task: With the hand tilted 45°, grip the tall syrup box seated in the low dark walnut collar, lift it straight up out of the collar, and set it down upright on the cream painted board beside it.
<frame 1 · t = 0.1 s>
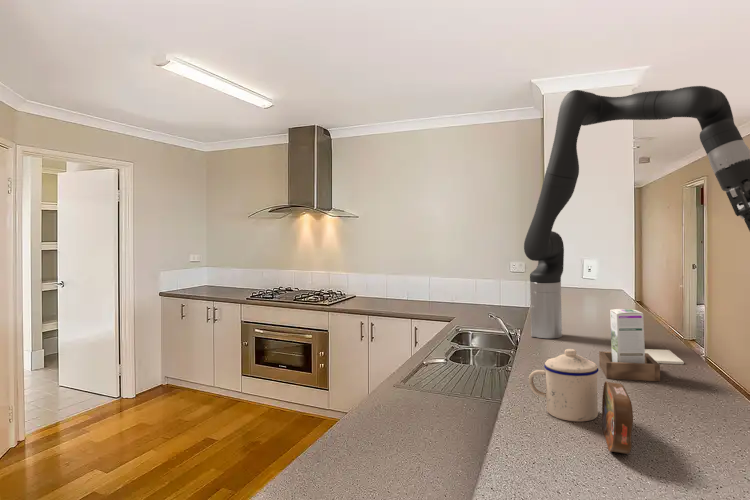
teacup with lid: (563, 413, 86), on the table
cream board: (649, 356, 121), on the table
syrup box: (627, 373, 108), resting in walnut collar
tin: (616, 442, 74), on the table
walnut collar: (627, 372, 108), on the table
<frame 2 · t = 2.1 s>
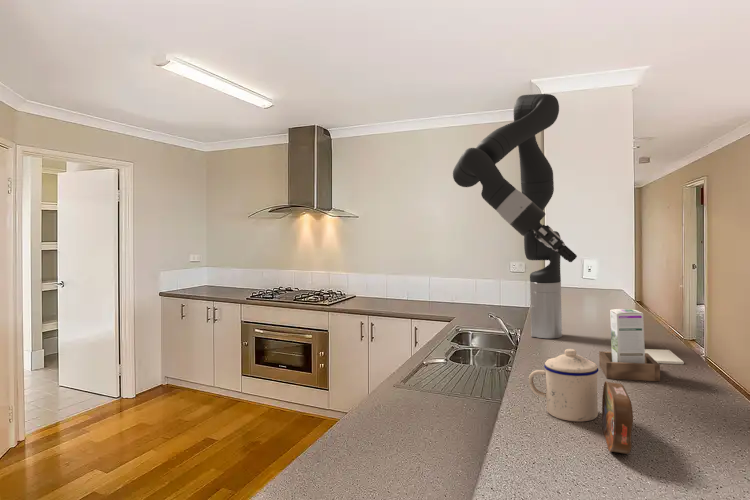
hand: (572, 258, 111), 27 cm above the table, tool tilted 45°, fingers open, 8 cm apart
nothing on the table moved.
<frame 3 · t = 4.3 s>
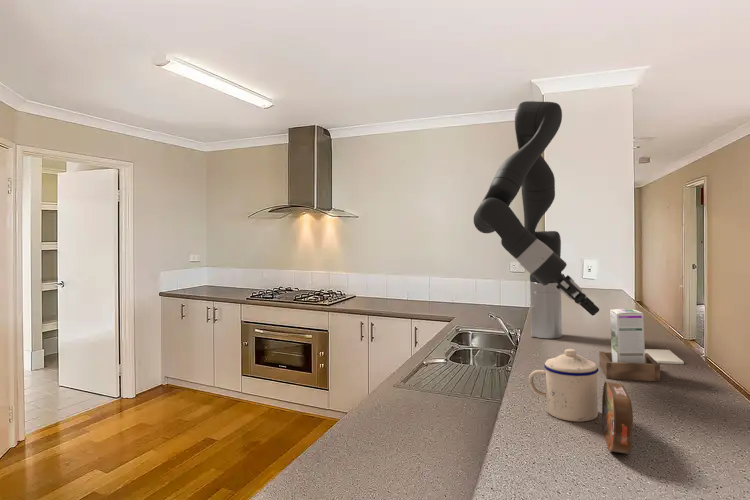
hand: (593, 309, 110), 15 cm above the table, tool tilted 45°, fingers open, 8 cm apart
nothing on the table moved.
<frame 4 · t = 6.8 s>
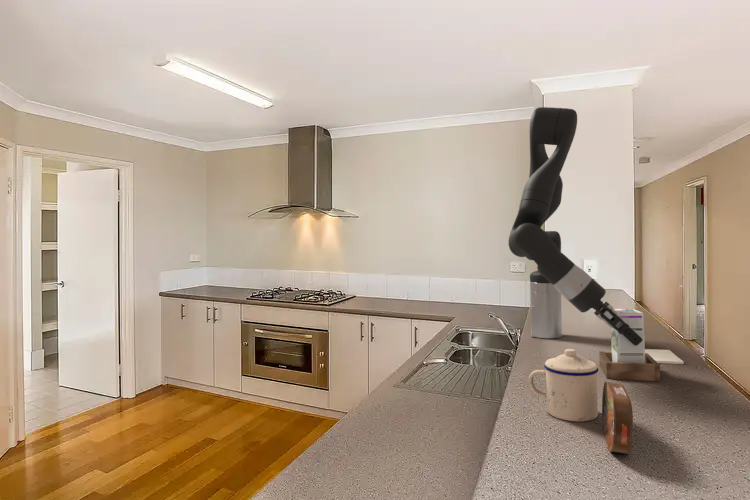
hand: (635, 339, 107), 8 cm above the table, tool tilted 45°, fingers closed on syrup box, 6 cm apart
syrup box: (627, 373, 108), resting in walnut collar, touching gripper
everything else where it was.
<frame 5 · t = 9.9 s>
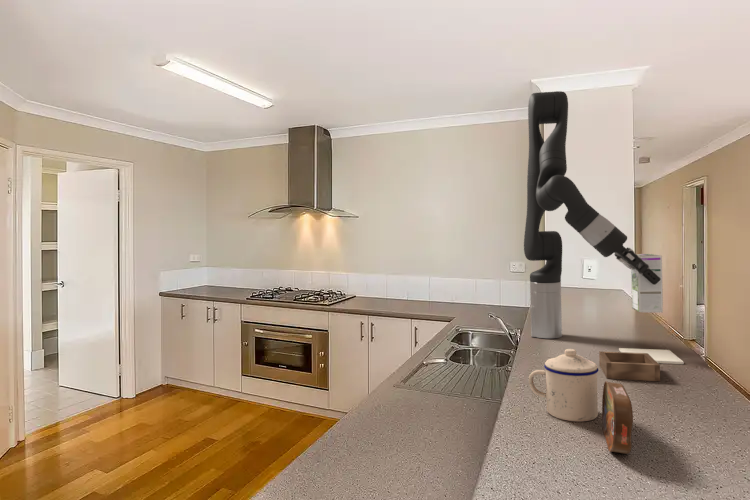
hand: (653, 280, 120), 20 cm above the table, tool tilted 45°, fingers closed on syrup box, 6 cm apart
syrup box: (646, 311, 120), point 12 cm above the table, touching gripper
everything else where it was.
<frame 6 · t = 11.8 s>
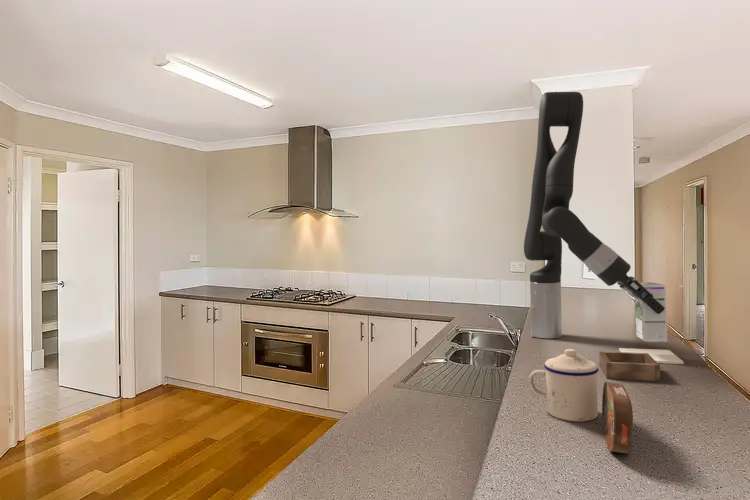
hand: (657, 309, 120), 12 cm above the table, tool tilted 45°, fingers closed on syrup box, 6 cm apart
syrup box: (651, 340, 120), point 4 cm above the table, touching gripper
everything else where it was.
when the fingers open (10 cm above the table, at t = 13.0 s): syrup box drops 1 cm, resting on cream board.
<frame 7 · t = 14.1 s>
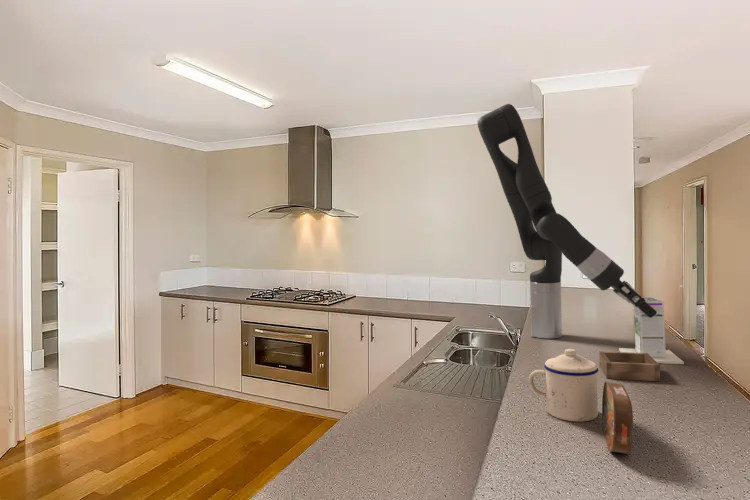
hand: (649, 312, 121), 11 cm above the table, tool tilted 45°, fingers open, 8 cm apart
syrup box: (649, 355, 120), resting on cream board
everything else where it was.
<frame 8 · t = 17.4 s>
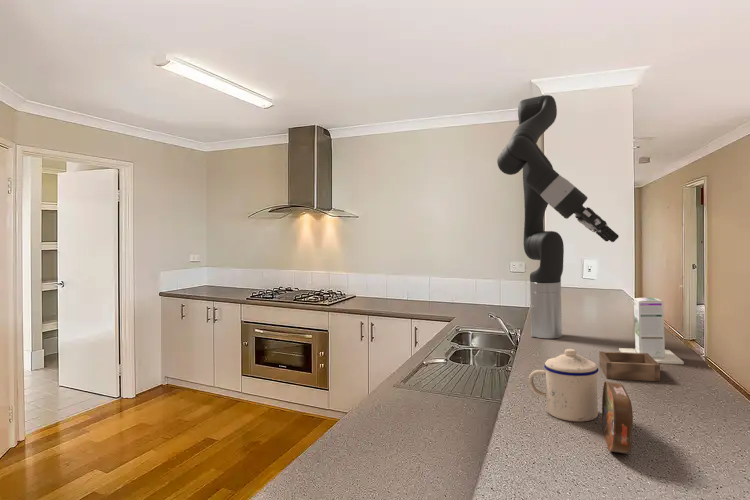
hand: (612, 239, 119), 31 cm above the table, tool tilted 45°, fingers open, 8 cm apart
nothing on the table moved.
at the end: syrup box inside the target area (0.6 cm from its centre), resting on cream board; syrup box tilted 0°; the gripper is holding nothing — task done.
